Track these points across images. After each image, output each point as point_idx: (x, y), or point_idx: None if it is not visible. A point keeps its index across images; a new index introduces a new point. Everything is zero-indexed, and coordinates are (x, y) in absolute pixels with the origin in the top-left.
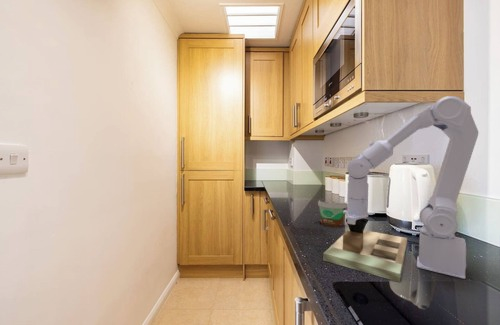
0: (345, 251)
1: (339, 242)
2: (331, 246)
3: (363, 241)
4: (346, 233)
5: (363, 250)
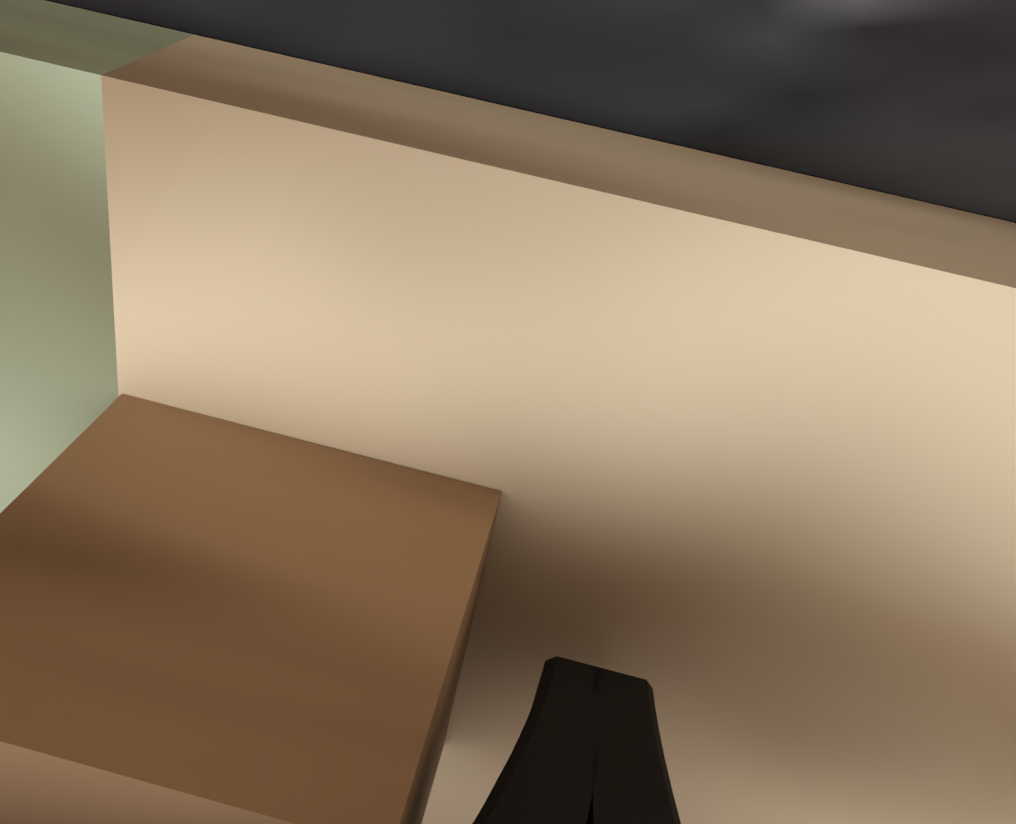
0: (65, 443)
1: (626, 316)
2: (142, 110)
3: (957, 820)
4: (10, 788)
5: None
